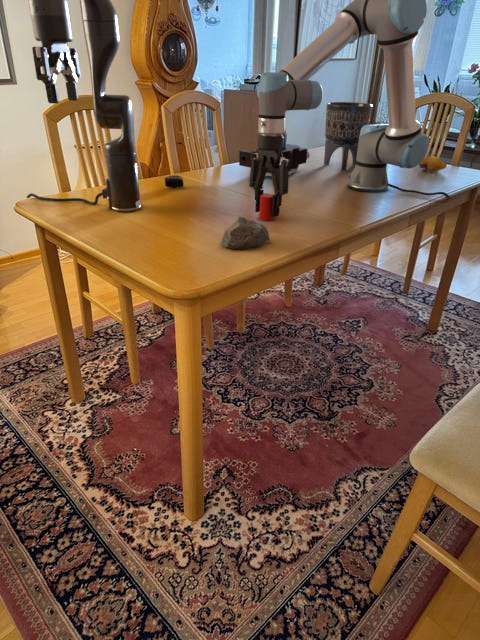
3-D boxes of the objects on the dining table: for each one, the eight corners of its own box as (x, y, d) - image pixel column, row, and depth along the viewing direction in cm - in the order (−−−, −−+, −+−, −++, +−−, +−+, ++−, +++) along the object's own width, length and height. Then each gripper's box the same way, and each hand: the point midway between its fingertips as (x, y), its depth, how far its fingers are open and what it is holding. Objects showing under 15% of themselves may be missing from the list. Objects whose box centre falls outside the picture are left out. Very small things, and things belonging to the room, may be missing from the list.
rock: (255, 233, 128) (256, 211, 124) (276, 242, 122) (278, 219, 119) (217, 244, 120) (217, 220, 117) (239, 254, 115) (239, 230, 111)
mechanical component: (240, 120, 182) (283, 115, 202) (239, 174, 192) (280, 164, 212) (283, 126, 170) (325, 120, 190) (280, 183, 180) (320, 171, 200)
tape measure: (165, 189, 168) (164, 179, 167) (165, 185, 174) (164, 175, 172) (183, 189, 169) (183, 179, 168) (183, 184, 175) (182, 174, 173)
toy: (420, 164, 201) (414, 157, 214) (422, 178, 204) (416, 170, 217) (447, 156, 198) (439, 149, 211) (449, 170, 201) (441, 162, 213)
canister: (265, 221, 138) (266, 198, 135) (256, 218, 142) (256, 194, 138) (276, 219, 141) (278, 195, 137) (267, 215, 144) (268, 192, 140)
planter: (313, 167, 208) (319, 103, 195) (331, 160, 222) (338, 101, 209) (353, 173, 199) (362, 107, 185) (369, 166, 213) (379, 104, 199)
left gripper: (48, 11, 86) (63, 105, 94) (83, 17, 98) (94, 100, 107) (12, 11, 87) (30, 104, 95) (51, 17, 99) (64, 98, 108)
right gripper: (238, 131, 132) (236, 209, 144) (288, 139, 121) (282, 223, 132) (255, 129, 137) (253, 205, 149) (305, 136, 125) (298, 218, 137)
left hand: (64, 101), depth 101 cm, fingers open, 8 cm apart
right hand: (267, 213), depth 140 cm, fingers open, 6 cm apart
